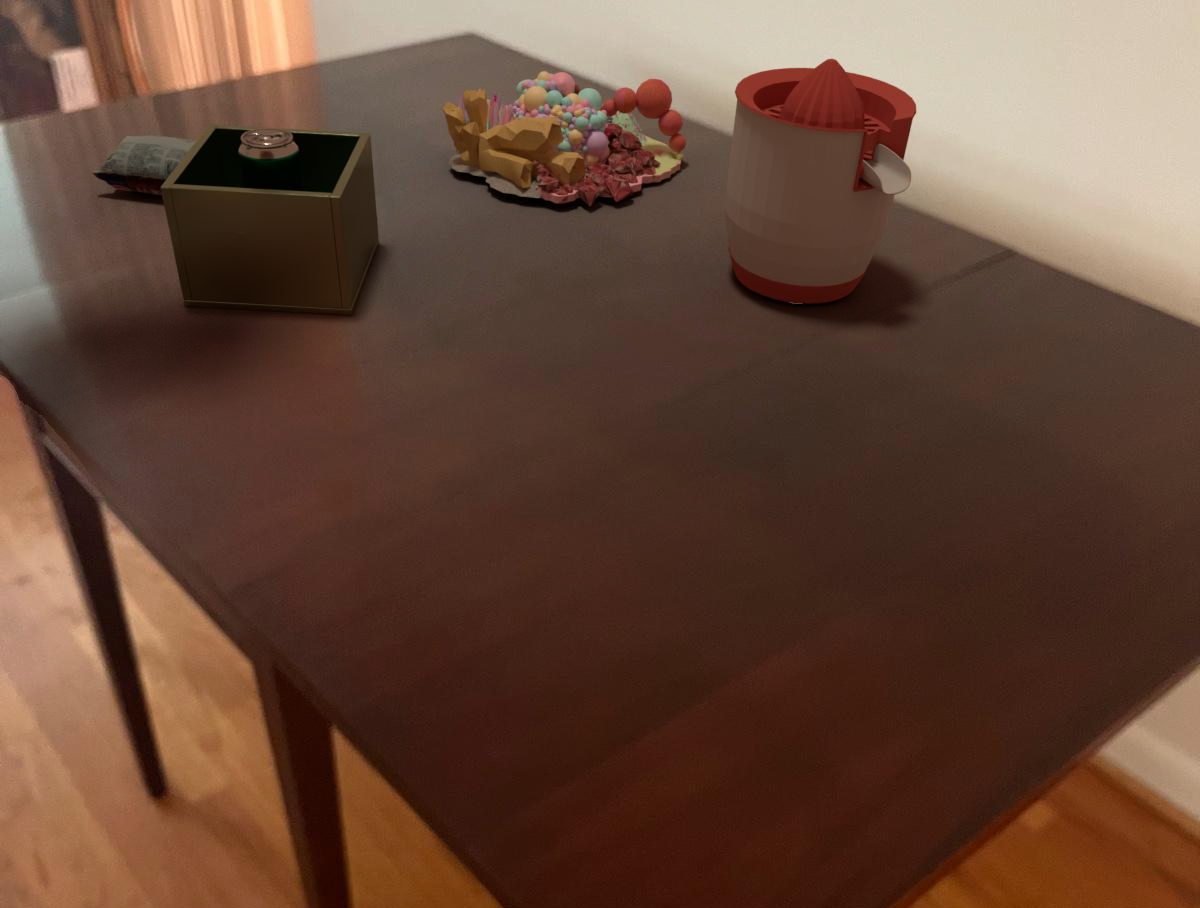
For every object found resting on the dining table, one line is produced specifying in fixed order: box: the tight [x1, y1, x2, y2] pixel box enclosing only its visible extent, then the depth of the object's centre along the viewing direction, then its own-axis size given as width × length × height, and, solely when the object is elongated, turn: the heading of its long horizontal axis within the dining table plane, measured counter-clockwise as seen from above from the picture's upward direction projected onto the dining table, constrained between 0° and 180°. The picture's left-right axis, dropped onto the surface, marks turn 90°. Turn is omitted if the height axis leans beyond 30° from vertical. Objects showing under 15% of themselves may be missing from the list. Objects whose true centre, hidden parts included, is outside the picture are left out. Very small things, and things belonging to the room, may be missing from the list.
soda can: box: [238, 127, 304, 191], centre depth 103 cm, size 5×5×12 cm
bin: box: [161, 123, 380, 316], centre depth 104 cm, size 15×15×11 cm
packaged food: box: [91, 134, 197, 196], centre depth 119 cm, size 9×12×5 cm
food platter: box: [442, 70, 687, 207], centre depth 127 cm, size 25×24×9 cm
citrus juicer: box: [724, 58, 917, 305], centre depth 104 cm, size 16×17×20 cm
